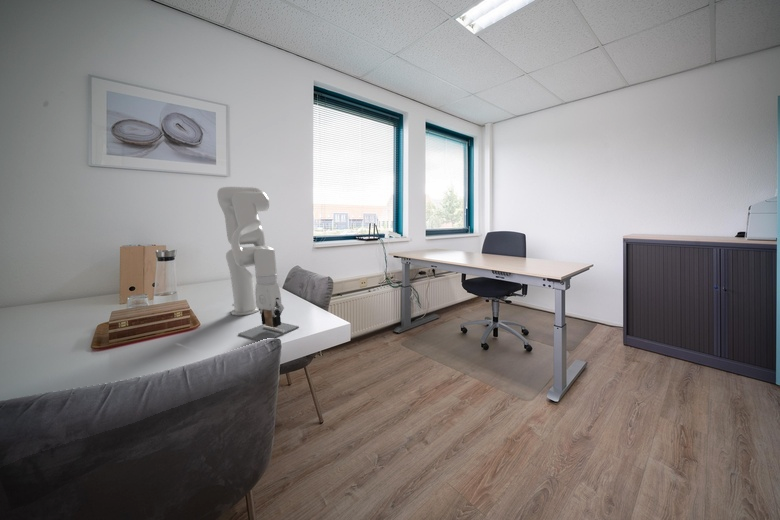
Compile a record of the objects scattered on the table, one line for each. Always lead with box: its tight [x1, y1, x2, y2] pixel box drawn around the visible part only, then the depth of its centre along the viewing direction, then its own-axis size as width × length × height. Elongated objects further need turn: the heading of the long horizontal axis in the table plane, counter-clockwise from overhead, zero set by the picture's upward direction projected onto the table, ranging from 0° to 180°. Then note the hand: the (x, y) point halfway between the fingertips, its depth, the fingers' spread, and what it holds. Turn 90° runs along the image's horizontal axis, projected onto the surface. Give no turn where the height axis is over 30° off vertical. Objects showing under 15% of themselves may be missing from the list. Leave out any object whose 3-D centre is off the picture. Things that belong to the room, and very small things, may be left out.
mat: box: [237, 321, 300, 342], centre depth 117 cm, size 16×16×2 cm
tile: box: [264, 309, 279, 328], centre depth 115 cm, size 6×2×7 cm, turn 59°
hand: (271, 324), depth 116 cm, fingers closed on tile, 6 cm apart
